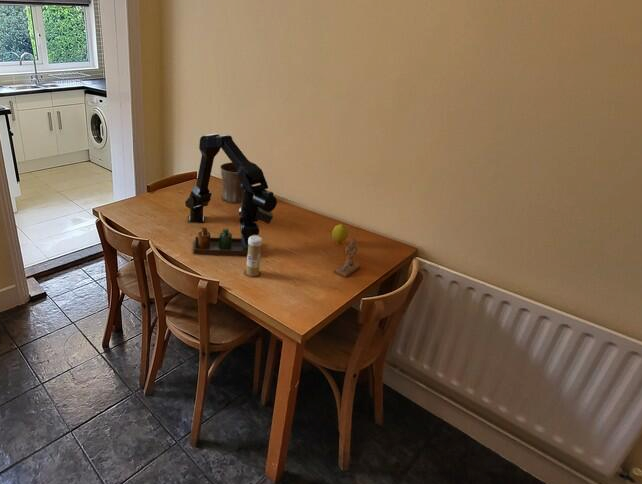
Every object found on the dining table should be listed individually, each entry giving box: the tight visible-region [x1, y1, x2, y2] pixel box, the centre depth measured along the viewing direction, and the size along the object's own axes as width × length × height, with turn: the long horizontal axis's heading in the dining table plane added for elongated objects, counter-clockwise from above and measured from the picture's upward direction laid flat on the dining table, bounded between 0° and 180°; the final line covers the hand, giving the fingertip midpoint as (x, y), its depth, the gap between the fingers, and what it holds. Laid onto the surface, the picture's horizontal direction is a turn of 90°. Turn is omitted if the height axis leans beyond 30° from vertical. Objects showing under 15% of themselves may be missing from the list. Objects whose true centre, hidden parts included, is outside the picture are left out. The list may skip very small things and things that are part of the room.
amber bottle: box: [197, 227, 211, 249], centre depth 155 cm, size 5×5×8 cm
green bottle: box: [218, 228, 233, 250], centre depth 154 cm, size 5×5×8 cm
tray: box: [193, 236, 248, 257], centre depth 155 cm, size 10×23×2 cm, turn 85°
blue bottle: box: [240, 233, 254, 248], centre depth 153 cm, size 4×4×8 cm
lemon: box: [331, 223, 349, 244], centre depth 158 cm, size 6×6×8 cm
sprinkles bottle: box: [245, 235, 263, 277], centre depth 137 cm, size 5×5×14 cm
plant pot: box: [219, 161, 243, 204], centre depth 199 cm, size 16×16×16 cm
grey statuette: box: [335, 238, 360, 278], centre depth 139 cm, size 9×4×12 cm, turn 131°
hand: (246, 240), depth 154 cm, fingers closed on blue bottle, 4 cm apart
